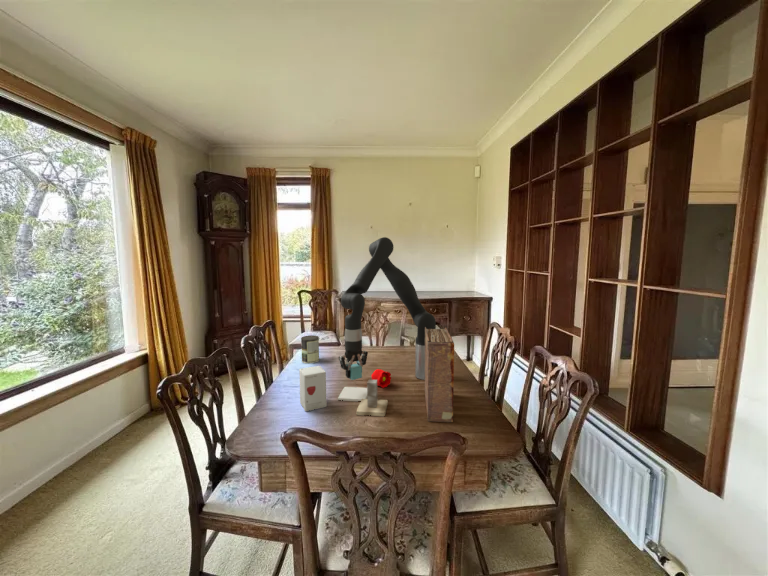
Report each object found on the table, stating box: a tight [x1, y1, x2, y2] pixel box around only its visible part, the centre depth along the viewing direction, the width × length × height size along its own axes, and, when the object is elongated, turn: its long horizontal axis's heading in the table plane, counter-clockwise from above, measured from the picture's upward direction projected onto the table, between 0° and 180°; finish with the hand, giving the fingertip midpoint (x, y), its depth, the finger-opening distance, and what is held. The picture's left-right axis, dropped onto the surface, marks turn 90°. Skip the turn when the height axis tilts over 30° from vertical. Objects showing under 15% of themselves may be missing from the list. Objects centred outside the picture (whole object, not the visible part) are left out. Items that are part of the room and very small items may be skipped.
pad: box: [337, 386, 367, 402], centre depth 140 cm, size 12×12×1 cm
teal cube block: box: [348, 363, 363, 381], centre depth 139 cm, size 5×5×5 cm
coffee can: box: [300, 335, 320, 364], centre depth 187 cm, size 10×10×14 cm
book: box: [424, 327, 455, 423], centre depth 127 cm, size 25×9×30 cm, turn 175°
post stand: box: [355, 379, 389, 417], centre depth 126 cm, size 11×11×12 cm
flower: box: [371, 368, 392, 389], centre depth 150 cm, size 8×8×8 cm
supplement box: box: [299, 365, 327, 412], centre depth 130 cm, size 9×9×15 cm
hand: (354, 376), depth 139 cm, fingers closed on teal cube block, 5 cm apart
